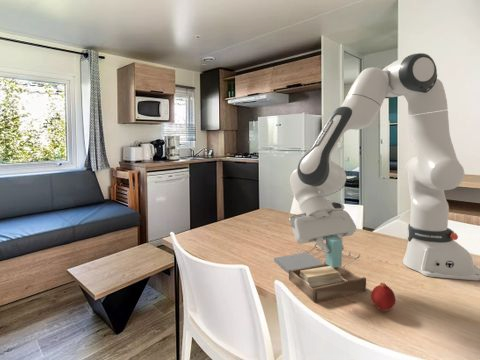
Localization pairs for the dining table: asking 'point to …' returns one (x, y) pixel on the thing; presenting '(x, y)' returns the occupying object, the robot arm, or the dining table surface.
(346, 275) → the wooden tray
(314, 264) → the tile
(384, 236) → the dining table surface
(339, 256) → the teal rectangular block
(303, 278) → the offcut stack
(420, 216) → the robot arm
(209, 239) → the dining table surface
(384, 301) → the onion
